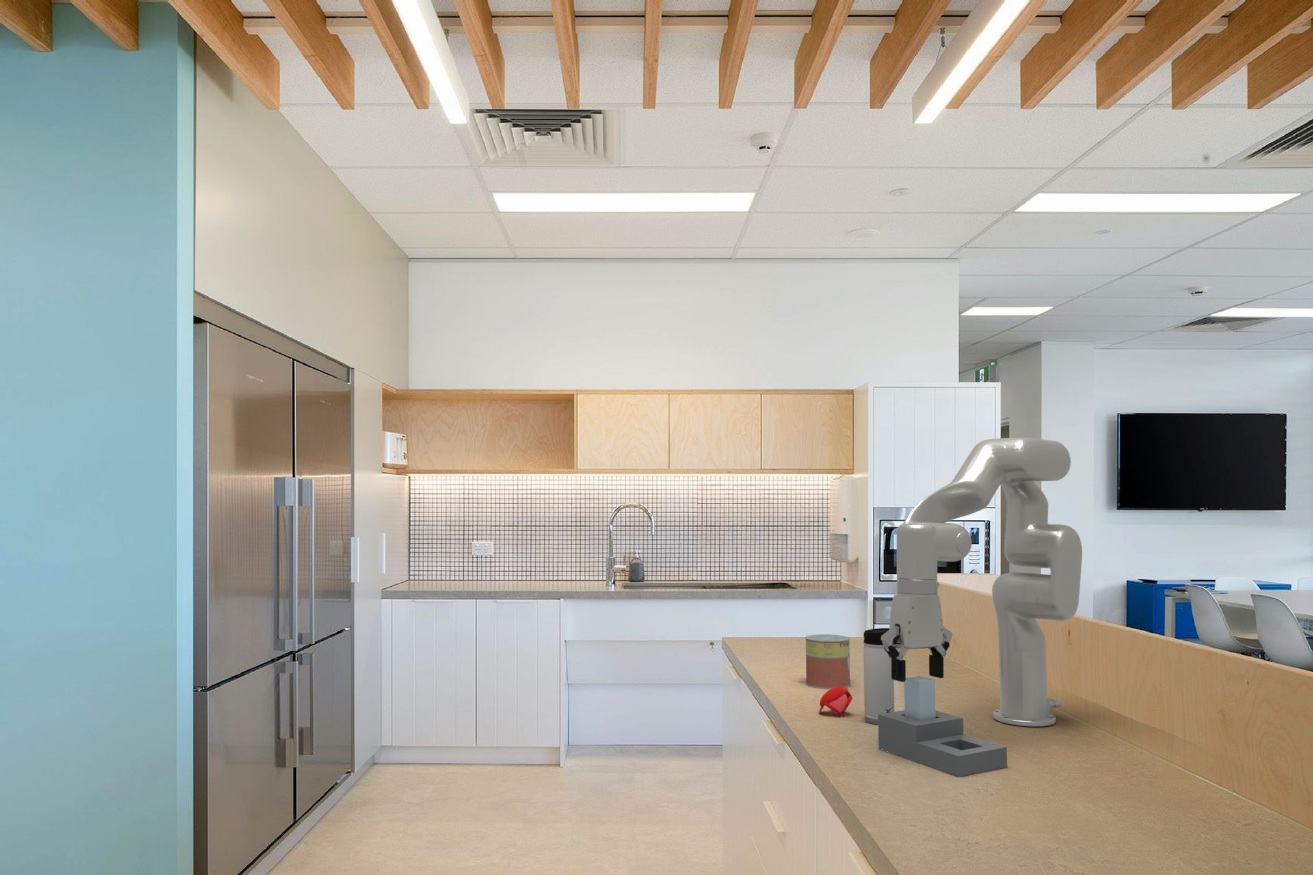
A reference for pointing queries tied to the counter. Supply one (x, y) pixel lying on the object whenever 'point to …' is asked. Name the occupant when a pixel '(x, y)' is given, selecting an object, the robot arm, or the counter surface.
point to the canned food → (827, 661)
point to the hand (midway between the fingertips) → (917, 678)
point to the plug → (919, 698)
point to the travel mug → (877, 676)
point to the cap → (836, 700)
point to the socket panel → (939, 744)
